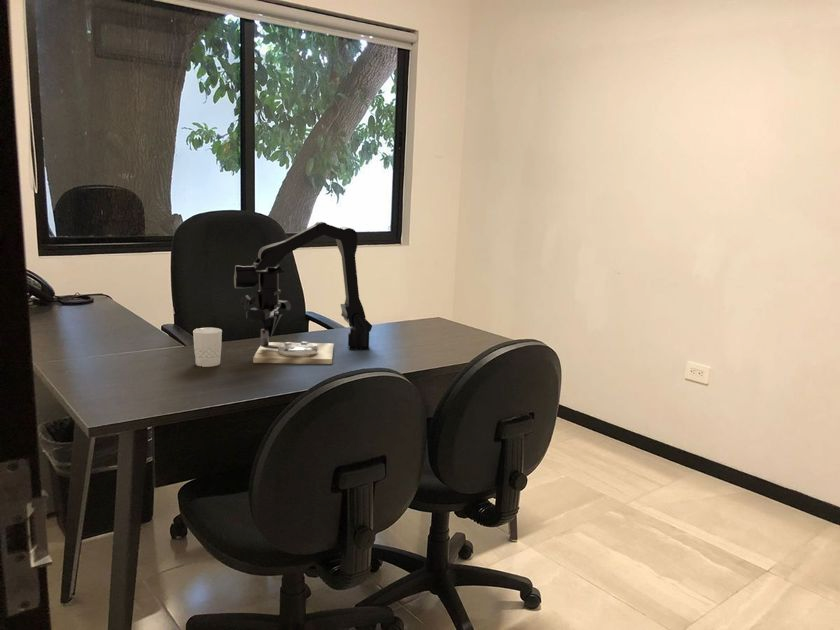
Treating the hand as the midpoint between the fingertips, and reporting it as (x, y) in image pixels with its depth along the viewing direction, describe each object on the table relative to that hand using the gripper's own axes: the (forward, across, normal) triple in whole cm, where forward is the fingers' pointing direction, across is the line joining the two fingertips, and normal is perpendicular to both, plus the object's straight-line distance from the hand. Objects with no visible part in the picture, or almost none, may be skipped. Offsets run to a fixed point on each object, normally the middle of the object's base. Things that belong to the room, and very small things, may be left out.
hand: (269, 336), depth 202 cm
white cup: (+5, +20, -10) cm, 22 cm away
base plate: (+5, 0, +9) cm, 10 cm away
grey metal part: (+3, +3, +8) cm, 9 cm away
